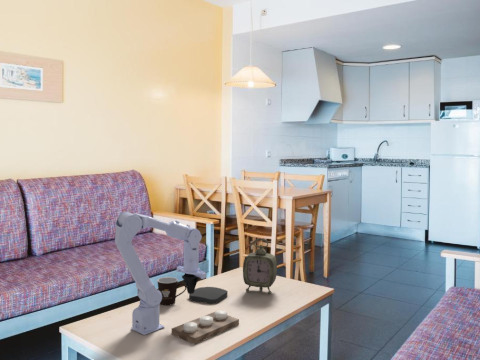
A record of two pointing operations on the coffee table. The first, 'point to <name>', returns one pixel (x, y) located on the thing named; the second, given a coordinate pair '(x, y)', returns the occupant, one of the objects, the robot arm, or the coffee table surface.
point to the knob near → (190, 327)
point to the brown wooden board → (205, 329)
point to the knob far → (221, 315)
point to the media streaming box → (208, 295)
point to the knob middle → (206, 321)
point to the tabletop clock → (259, 268)
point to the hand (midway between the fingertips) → (190, 293)
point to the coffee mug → (168, 290)
